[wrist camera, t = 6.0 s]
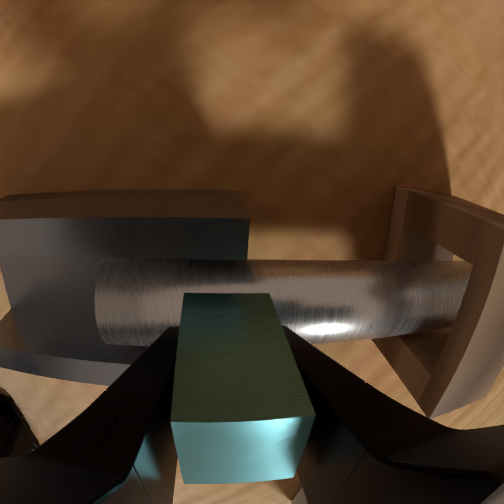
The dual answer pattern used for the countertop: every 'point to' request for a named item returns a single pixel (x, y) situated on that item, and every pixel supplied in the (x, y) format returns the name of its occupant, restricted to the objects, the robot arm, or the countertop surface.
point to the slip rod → (261, 342)
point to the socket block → (472, 306)
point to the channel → (96, 267)
